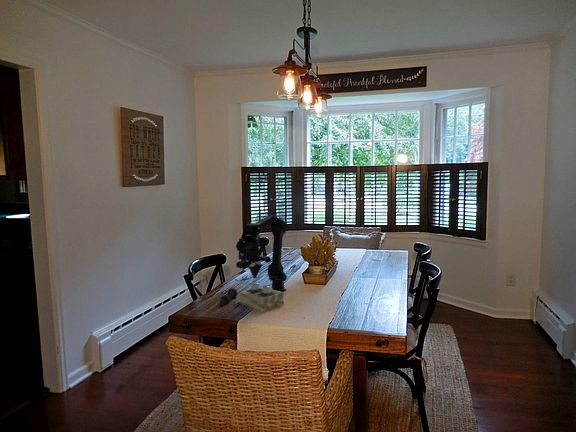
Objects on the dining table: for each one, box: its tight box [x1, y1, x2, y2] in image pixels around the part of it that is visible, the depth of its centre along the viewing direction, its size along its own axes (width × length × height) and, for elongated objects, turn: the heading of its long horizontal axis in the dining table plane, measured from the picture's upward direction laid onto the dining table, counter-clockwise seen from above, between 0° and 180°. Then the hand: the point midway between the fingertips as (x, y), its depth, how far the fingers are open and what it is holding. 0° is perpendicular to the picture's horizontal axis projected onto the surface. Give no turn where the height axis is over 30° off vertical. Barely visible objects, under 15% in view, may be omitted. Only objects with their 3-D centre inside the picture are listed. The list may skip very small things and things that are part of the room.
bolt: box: [219, 287, 239, 306], centre depth 220 cm, size 6×5×15 cm
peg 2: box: [262, 284, 272, 296], centre depth 209 cm, size 4×4×6 cm
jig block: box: [238, 285, 285, 312], centre depth 213 cm, size 14×18×6 cm
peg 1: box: [250, 281, 260, 292], centre depth 216 cm, size 4×4×6 cm
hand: (254, 278), depth 215 cm, fingers closed
